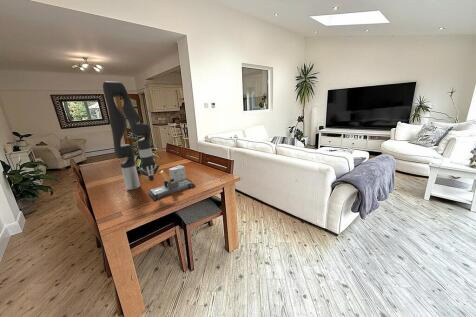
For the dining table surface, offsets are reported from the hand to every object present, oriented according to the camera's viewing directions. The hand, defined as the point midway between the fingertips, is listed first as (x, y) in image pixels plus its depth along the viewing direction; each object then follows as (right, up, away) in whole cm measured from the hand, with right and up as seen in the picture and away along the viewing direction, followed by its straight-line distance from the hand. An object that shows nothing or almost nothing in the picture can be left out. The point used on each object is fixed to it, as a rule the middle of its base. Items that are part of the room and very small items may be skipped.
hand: (151, 180), depth 126 cm
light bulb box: (+9, -3, +28) cm, 30 cm away
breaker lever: (+10, -4, +9) cm, 14 cm away
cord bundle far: (+20, -5, +18) cm, 27 cm away
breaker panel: (+10, -8, +10) cm, 16 cm away
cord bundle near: (0, -11, +3) cm, 11 cm away
